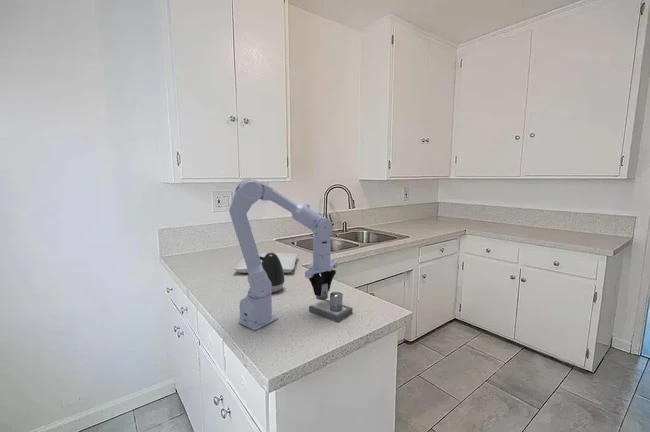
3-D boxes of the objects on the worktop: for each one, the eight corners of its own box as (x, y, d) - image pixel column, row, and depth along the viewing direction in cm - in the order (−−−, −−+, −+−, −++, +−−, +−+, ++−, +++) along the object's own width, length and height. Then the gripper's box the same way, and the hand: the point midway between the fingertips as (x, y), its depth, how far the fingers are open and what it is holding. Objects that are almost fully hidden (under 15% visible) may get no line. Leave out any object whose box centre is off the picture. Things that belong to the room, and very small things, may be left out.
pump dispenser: (256, 287, 125) (254, 250, 123) (281, 284, 129) (280, 248, 127) (260, 297, 116) (258, 257, 114) (287, 293, 120) (286, 254, 117)
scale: (338, 322, 96) (338, 315, 96) (309, 311, 104) (308, 305, 103) (352, 313, 103) (352, 306, 102) (323, 303, 110) (323, 297, 110)
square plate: (293, 276, 140) (293, 268, 139) (232, 276, 140) (232, 268, 139) (298, 259, 167) (298, 252, 166) (247, 259, 166) (246, 252, 166)
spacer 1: (322, 301, 101) (322, 286, 100) (313, 297, 103) (313, 283, 103) (330, 297, 104) (330, 282, 103) (320, 294, 107) (320, 280, 106)
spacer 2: (337, 313, 98) (338, 297, 97) (327, 309, 100) (327, 294, 99) (344, 308, 101) (344, 293, 100) (334, 305, 103) (334, 290, 102)
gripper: (316, 260, 93) (317, 303, 95) (344, 250, 105) (344, 289, 107) (299, 256, 98) (300, 297, 100) (327, 247, 109) (327, 284, 111)
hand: (321, 293), depth 104 cm, fingers closed on spacer 1, 4 cm apart
